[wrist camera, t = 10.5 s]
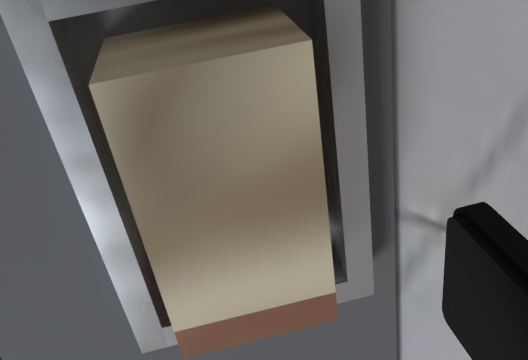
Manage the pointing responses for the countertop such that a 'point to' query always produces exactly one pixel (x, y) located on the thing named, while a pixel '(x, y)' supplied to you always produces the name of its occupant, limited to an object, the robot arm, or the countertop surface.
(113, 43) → the maple block
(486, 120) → the countertop surface
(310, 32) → the rubber mat
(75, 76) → the metal frame
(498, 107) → the countertop surface
